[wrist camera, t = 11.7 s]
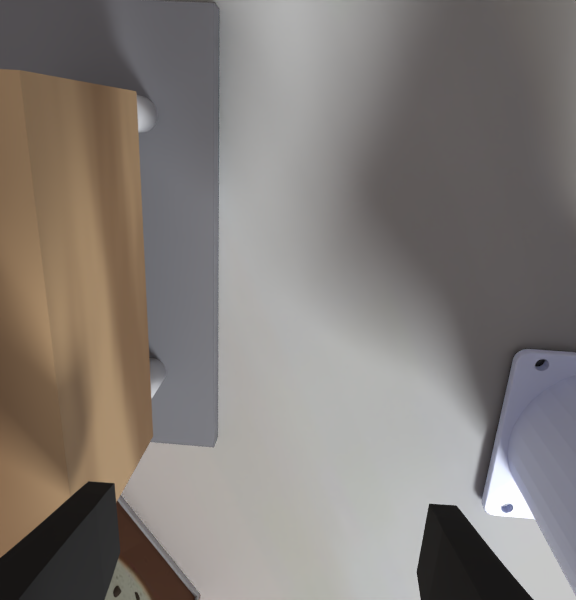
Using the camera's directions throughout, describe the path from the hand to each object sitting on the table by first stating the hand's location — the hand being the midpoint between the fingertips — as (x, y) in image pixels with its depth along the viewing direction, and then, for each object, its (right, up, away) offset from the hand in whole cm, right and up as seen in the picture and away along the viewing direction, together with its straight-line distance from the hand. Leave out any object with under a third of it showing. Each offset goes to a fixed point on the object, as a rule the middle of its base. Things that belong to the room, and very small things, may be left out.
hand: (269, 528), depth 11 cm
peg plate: (-6, +7, +8) cm, 13 cm away
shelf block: (-7, +6, +5) cm, 10 cm away
